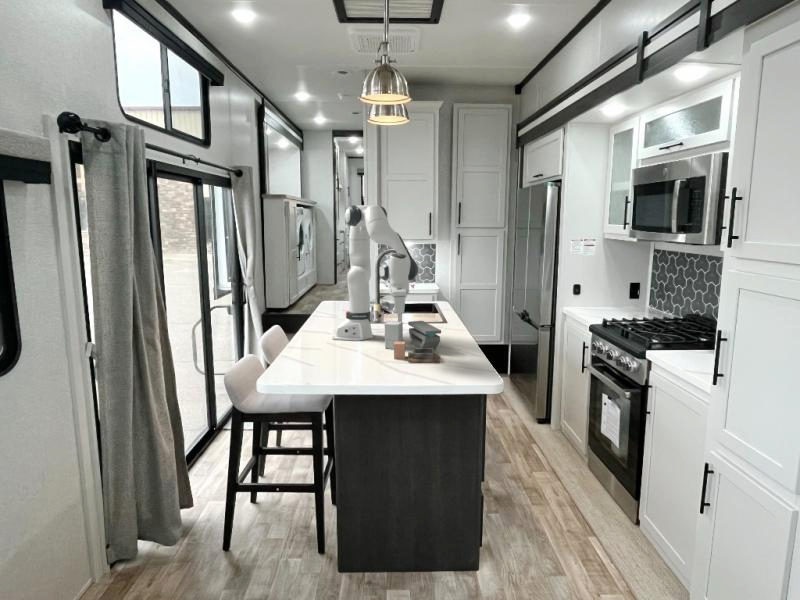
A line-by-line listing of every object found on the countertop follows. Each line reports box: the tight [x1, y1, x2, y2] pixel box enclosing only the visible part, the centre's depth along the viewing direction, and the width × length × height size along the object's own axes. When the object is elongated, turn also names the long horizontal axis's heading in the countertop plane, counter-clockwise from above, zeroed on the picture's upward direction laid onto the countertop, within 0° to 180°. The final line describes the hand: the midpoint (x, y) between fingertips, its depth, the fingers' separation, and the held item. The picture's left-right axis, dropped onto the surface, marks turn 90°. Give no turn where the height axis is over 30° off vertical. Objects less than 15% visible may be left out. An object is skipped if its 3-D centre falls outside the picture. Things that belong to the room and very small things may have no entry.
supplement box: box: [384, 320, 404, 350], centre depth 246 cm, size 7×7×13 cm
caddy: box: [407, 347, 441, 364], centre depth 226 cm, size 14×14×4 cm
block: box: [393, 341, 406, 360], centre depth 228 cm, size 5×5×7 cm
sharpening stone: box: [407, 320, 442, 350], centre depth 247 cm, size 25×8×11 cm, turn 18°
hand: (400, 319), depth 226 cm, fingers open, 8 cm apart
